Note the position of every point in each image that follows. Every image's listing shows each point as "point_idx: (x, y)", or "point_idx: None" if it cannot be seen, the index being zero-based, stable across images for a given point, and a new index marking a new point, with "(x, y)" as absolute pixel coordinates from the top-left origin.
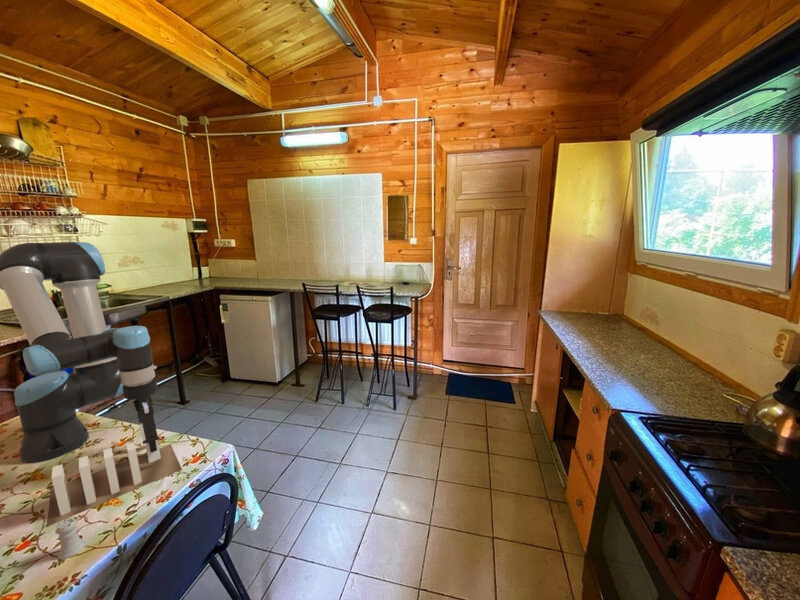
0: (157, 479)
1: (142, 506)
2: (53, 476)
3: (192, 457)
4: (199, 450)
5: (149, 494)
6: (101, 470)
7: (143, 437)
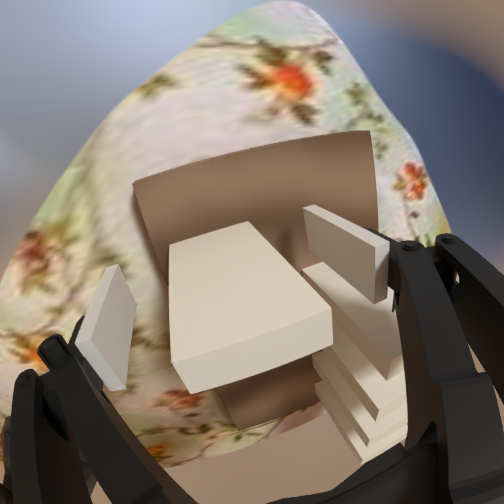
0: (376, 204)
1: (413, 227)
2: (404, 438)
3: (270, 89)
4: (228, 61)
5: (388, 218)
6: None
7: (129, 323)
